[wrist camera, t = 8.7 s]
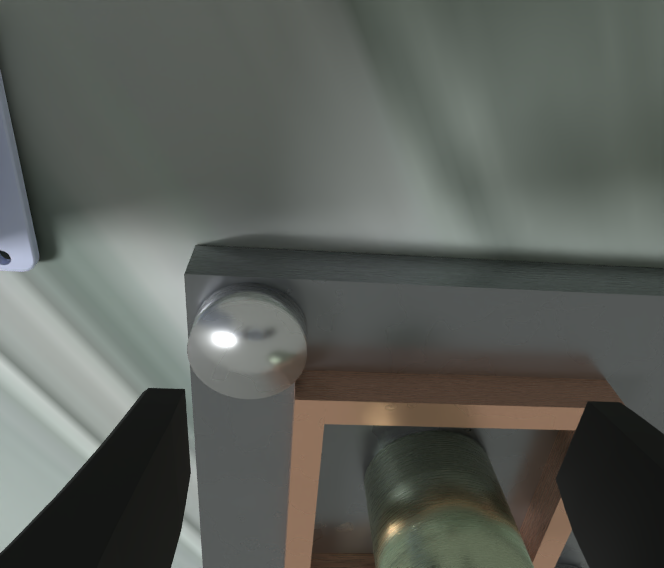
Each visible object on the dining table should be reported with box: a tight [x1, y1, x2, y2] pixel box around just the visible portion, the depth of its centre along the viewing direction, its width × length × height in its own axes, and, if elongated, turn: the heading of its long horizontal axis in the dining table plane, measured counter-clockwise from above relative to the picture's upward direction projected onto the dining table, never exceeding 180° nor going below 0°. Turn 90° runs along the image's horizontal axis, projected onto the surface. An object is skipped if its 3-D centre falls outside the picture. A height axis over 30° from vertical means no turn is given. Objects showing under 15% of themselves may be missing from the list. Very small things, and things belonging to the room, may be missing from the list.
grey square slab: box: [184, 245, 664, 568], centre depth 22 cm, size 18×18×4 cm
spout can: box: [364, 430, 534, 568], centre depth 18 cm, size 5×5×8 cm
